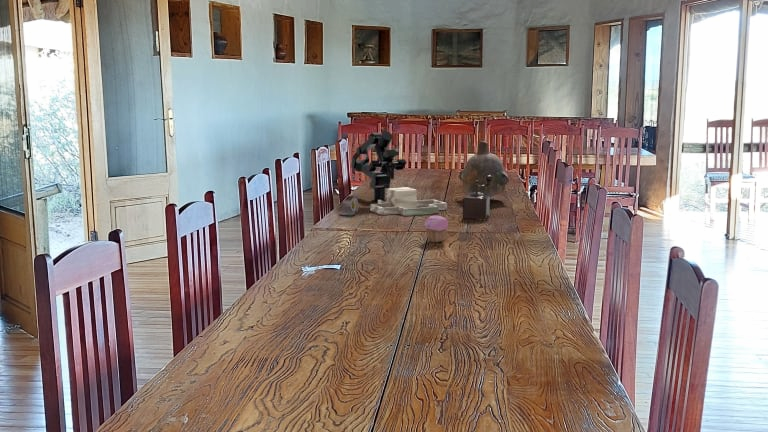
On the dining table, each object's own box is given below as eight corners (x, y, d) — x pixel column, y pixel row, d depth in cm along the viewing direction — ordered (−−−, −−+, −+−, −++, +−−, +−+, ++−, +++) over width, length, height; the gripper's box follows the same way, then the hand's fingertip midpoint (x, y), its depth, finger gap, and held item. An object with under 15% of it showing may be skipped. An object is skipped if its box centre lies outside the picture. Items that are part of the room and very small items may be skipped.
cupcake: (433, 238, 294) (434, 212, 292) (452, 241, 289) (453, 215, 287) (419, 241, 287) (420, 215, 286) (438, 245, 282) (439, 218, 280)
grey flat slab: (361, 207, 360) (361, 201, 359) (424, 202, 375) (424, 196, 375) (388, 217, 336) (388, 210, 335) (454, 211, 351) (454, 205, 351)
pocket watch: (336, 215, 339) (336, 193, 337) (346, 212, 347) (346, 190, 345) (352, 217, 336) (352, 194, 334) (362, 214, 343) (362, 192, 341)
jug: (506, 197, 394) (508, 139, 388) (508, 204, 373) (511, 143, 367) (458, 196, 396) (460, 138, 390) (458, 203, 375) (460, 142, 369)
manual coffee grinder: (486, 220, 332) (488, 179, 328) (461, 218, 335) (463, 177, 332) (493, 214, 346) (494, 174, 343) (469, 212, 350) (470, 173, 346)
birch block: (386, 207, 362) (387, 188, 360) (407, 205, 367) (407, 187, 365) (395, 210, 354) (396, 191, 352) (416, 208, 359) (416, 189, 357)
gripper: (370, 143, 363) (381, 169, 356) (405, 142, 372) (415, 167, 364) (363, 158, 372) (373, 183, 364) (397, 156, 380) (407, 181, 373)
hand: (392, 178), depth 366 cm, fingers closed
